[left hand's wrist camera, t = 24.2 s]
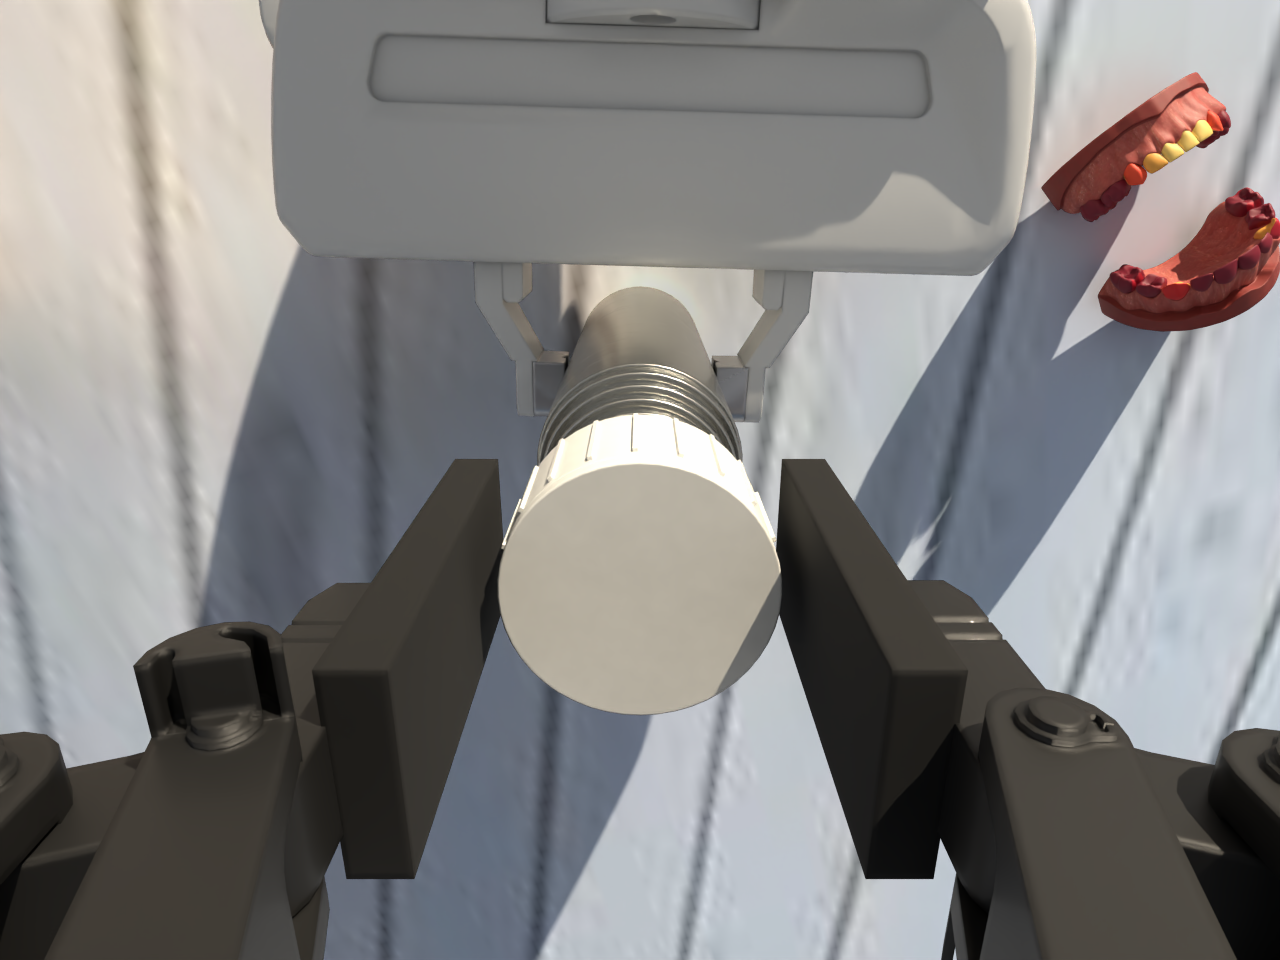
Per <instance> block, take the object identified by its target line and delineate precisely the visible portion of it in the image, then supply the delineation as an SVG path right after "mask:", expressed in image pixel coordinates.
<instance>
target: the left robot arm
mask: <svg viewBox="0 0 1280 960" xmlns="http://www.w3.org/2000/svg"><path fill="white" fill-rule="evenodd" d="M502 543H503V529H502V514H501V499H500V483H499V468H498V459H455V460H454V462H453V463H452V465H451V466H450V468H449V469H448V471H447V472H446V473H445V475H444V476H443V478H442V479H441V481H440V482H439V484H438V485H437V487H436V488H435V490H434V491H433V493H432V494H431V496H430V497H429V498H428V500H427V501H426V503H425V504H424V506H423V507H422V509H421V510H420V512H419V513H418V515H417V516H416V518H415V519H414V521H413V522H412V523H411V525H410V526H409V528H408V529H407V531H406V532H405V534H404V535H403V537H402V538H401V540H400V541H399V543H398V544H397V546H396V547H395V548H394V550H393V551H392V553H391V554H390V556H389V557H388V559H387V560H386V562H385V563H384V565H383V566H382V568H381V569H380V570H379V572H378V573H377V575H376V576H375V578H374V579H373V581H372V582H371V583H336V584H335V585H333V586H331V587H330V588H328V589H326V590H325V591H323V592H322V593H320V594H318V595H317V596H315V597H314V598H312V599H310V600H309V601H308V602H307V603H306V604H305V606H304V607H303V608H302V609H301V611H300V612H299V613H298V614H297V616H296V617H295V618H294V619H293V621H292V625H289V626H288V627H287V628H286V629H285V631H284V632H283V633H282V634H279V633H278V632H277V631H275V630H274V629H273V628H271V627H270V626H268V625H263V624H258V623H253V622H224V623H219V624H214V625H209V626H204V627H199V628H195V629H193V630H190V631H187V632H185V633H182V634H179V635H176V636H174V637H171V638H169V639H167V640H165V641H164V642H162V643H160V644H159V645H157V646H155V647H154V648H152V649H150V650H149V651H147V652H146V653H145V654H144V655H143V656H142V657H141V658H140V659H139V660H138V662H137V663H136V664H135V665H134V666H133V667H134V671H135V675H136V679H137V683H138V686H139V690H140V694H141V698H142V702H143V706H144V710H145V714H146V717H147V721H148V725H149V729H150V733H151V737H152V738H151V740H150V742H149V744H148V746H147V748H146V750H145V752H143V753H139V754H135V755H131V756H127V757H122V758H117V759H112V760H107V761H102V762H97V763H92V764H87V765H82V766H77V767H72V768H67V769H66V766H65V763H64V760H63V756H62V753H61V750H60V747H59V744H58V743H57V742H55V741H54V740H53V739H51V738H50V737H49V736H48V735H45V734H37V733H30V732H19V733H10V734H2V735H0V960H323V959H324V951H325V943H326V934H327V926H328V918H329V910H330V909H329V902H328V894H327V888H326V883H325V877H324V875H325V873H326V870H327V868H328V866H329V864H330V862H331V860H332V857H333V855H334V853H335V851H336V849H337V847H338V844H339V842H340V843H341V849H342V855H343V861H344V867H345V873H346V879H414V878H415V875H416V872H417V869H418V866H419V863H420V860H421V857H422V854H423V851H424V848H425V845H426V842H427V839H428V836H429V832H430V829H431V826H432V823H433V820H434V817H435V814H436V811H437V808H438V805H439V802H440V799H441V796H442V793H443V790H444V787H445V783H446V780H447V777H448V774H449V771H450V768H451V765H452V762H453V759H454V756H455V753H456V750H457V747H458V744H459V741H460V737H461V734H462V731H463V728H464V725H465V722H466V719H467V716H468V713H469V710H470V707H471V704H472V701H473V698H474V695H475V692H476V688H477V685H478V682H479V679H480V676H481V673H482V670H483V667H484V664H485V661H486V658H487V655H488V652H489V649H490V646H491V643H492V639H493V636H494V633H495V630H496V627H497V624H498V621H499V618H500V610H499V603H498V597H497V580H498V573H499V566H500V561H501V558H502V555H503V551H504V549H501V547H502ZM776 553H777V556H778V559H779V563H780V569H781V576H782V600H781V607H780V613H779V615H780V618H781V621H782V624H783V627H784V630H785V633H786V636H787V639H788V642H789V646H790V649H791V652H792V655H793V658H794V661H795V664H796V667H797V670H798V673H799V676H800V679H801V682H802V685H803V688H804V692H805V695H806V698H807V701H808V704H809V707H810V710H811V713H812V716H813V719H814V722H815V725H816V728H817V731H818V734H819V737H820V741H821V744H822V747H823V750H824V753H825V756H826V759H827V762H828V765H829V768H830V771H831V774H832V777H833V780H834V783H835V786H836V790H837V793H838V796H839V799H840V802H841V805H842V808H843V811H844V814H845V817H846V820H847V823H848V826H849V829H850V832H851V836H852V839H853V842H854V845H855V848H856V851H857V854H858V857H859V860H860V863H861V866H862V869H863V872H864V875H865V878H866V879H934V873H935V867H936V861H937V855H938V849H939V843H940V838H941V840H942V842H943V845H944V847H945V849H946V851H947V853H948V855H949V858H950V860H951V862H952V864H953V866H954V868H955V871H956V877H955V883H954V888H953V894H952V900H951V905H950V911H949V916H948V922H947V927H946V933H945V938H944V944H943V951H942V958H941V960H953V955H954V950H955V949H956V957H957V960H1280V731H1277V730H1268V729H1260V728H1254V729H1247V730H1239V731H1234V732H1233V733H1231V734H1230V735H1229V736H1227V737H1226V738H1225V739H1224V740H1222V744H1221V747H1220V750H1219V753H1218V756H1217V760H1216V763H1215V765H1211V764H1206V763H1201V762H1196V761H1191V760H1186V759H1181V758H1176V757H1171V756H1166V755H1161V754H1156V753H1151V752H1147V751H1144V750H1140V749H1136V748H1134V747H1133V745H1132V743H1131V741H1130V739H1129V737H1128V735H1127V734H1126V733H1125V732H1124V730H1123V729H1122V728H1121V727H1120V725H1119V724H1118V723H1117V722H1116V720H1114V719H1113V718H1111V717H1110V716H1109V715H1107V714H1106V713H1104V712H1103V711H1101V710H1100V709H1098V708H1097V707H1096V706H1094V705H1092V704H1089V703H1087V702H1085V701H1082V700H1080V699H1078V698H1075V697H1073V696H1071V695H1068V694H1064V693H1060V692H1056V691H1051V690H1047V689H1045V688H1044V686H1043V685H1042V684H1041V683H1040V681H1039V680H1038V679H1037V678H1036V677H1035V675H1034V674H1033V673H1032V672H1031V670H1030V669H1029V668H1028V667H1027V665H1026V664H1025V663H1024V662H1023V660H1022V659H1021V658H1020V657H1019V656H1018V654H1017V653H1016V652H1015V651H1014V649H1013V648H1012V647H1011V646H1010V644H1009V643H1008V642H1007V641H1006V640H1003V639H1002V634H1001V633H1000V632H999V631H998V630H997V628H996V627H995V626H994V625H993V623H992V622H989V621H988V617H987V616H986V615H985V613H984V612H983V611H982V610H981V609H980V607H979V606H978V605H977V604H976V602H975V601H974V600H973V599H972V598H971V597H970V596H968V595H966V594H965V593H963V592H961V591H960V590H958V589H957V588H955V587H953V586H952V585H950V584H948V583H947V582H945V581H944V580H907V579H906V578H905V576H904V575H903V573H902V572H901V570H900V569H899V568H898V566H897V565H896V563H895V562H894V560H893V559H892V557H891V556H890V554H889V553H888V551H887V550H886V548H885V547H884V545H883V544H882V543H881V541H880V540H879V538H878V537H877V535H876V534H875V532H874V531H873V529H872V528H871V526H870V525H869V523H868V522H867V520H866V519H865V518H864V516H863V515H862V513H861V512H860V510H859V509H858V507H857V506H856V504H855V503H854V501H853V500H852V498H851V497H850V496H849V494H848V493H847V491H846V490H845V488H844V487H843V485H842V484H841V482H840V481H839V479H838V478H837V476H836V475H835V473H834V472H833V471H832V469H831V468H830V466H829V465H828V463H827V462H826V460H825V459H782V468H781V483H780V499H779V514H778V529H777V545H776Z"/></svg>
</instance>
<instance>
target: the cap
mask: <svg viewBox="0 0 1280 960" xmlns="http://www.w3.org/2000/svg"><path fill="white" fill-rule="evenodd" d="M775 541H776V538H775V535H774V533H773V530H772V528H771V525H770V522H769V520H768V517H767V515H766V512H765V509H764V507H763V504H762V502H761V499H760V497H759V494H758V492H755V493H754V490H753V488H752V485H751V483H750V481H749V479H748V477H747V475H746V472H745V469H744V467H743V464H742V462H741V461H740V459H739V460H738V461H737V460H736V459H735V458H734V456H733V455H732V454H731V453H730V452H729V451H728V450H727V449H726V448H725V447H724V446H723V445H721V444H720V443H719V442H718V441H717V440H716V439H715V437H714V435H712V434H710V435H708V434H707V433H705V432H703V431H702V430H700V429H698V428H696V427H693V426H691V425H689V424H687V423H684V422H681V421H679V420H678V419H677V418H674V419H672V418H666V417H661V416H655V415H638V413H633V415H625V416H619V417H614V418H608V419H605V420H602V421H598V420H596V421H594V422H593V424H590V425H588V426H586V427H584V428H582V429H580V430H578V431H576V432H575V433H573V434H572V435H570V436H569V437H567V438H565V439H563V438H562V439H560V440H559V442H558V445H557V446H556V447H555V448H554V449H552V450H551V452H550V453H549V454H548V455H547V456H546V457H545V458H544V460H543V461H542V462H541V463H540V465H539V466H535V467H534V468H533V471H532V474H531V476H530V479H529V481H528V484H527V487H526V489H525V492H524V495H523V497H522V499H519V502H518V505H517V507H516V510H515V512H514V515H513V518H512V520H511V523H510V525H509V528H508V531H507V533H506V536H505V538H504V541H503V543H502V547H501V549H504V551H503V555H502V558H501V561H500V566H499V573H498V580H497V597H498V603H499V610H500V615H501V618H502V621H503V625H504V628H505V630H506V633H507V635H508V637H509V639H510V641H511V643H512V645H513V647H514V648H515V650H516V651H517V653H518V654H519V656H520V658H521V659H522V660H523V661H524V662H525V664H526V665H527V666H528V667H529V668H530V670H531V671H532V672H533V673H534V674H536V675H537V676H538V677H539V678H540V679H541V680H542V681H543V682H544V683H546V684H547V685H549V686H550V687H551V688H553V689H554V690H556V691H557V692H558V693H560V694H562V695H564V696H566V697H568V698H569V699H571V700H573V701H576V702H578V703H581V704H583V705H586V706H588V707H591V708H595V709H598V710H602V711H605V712H611V713H618V714H626V715H653V714H662V713H668V712H674V711H678V710H681V709H685V708H688V707H692V706H694V705H697V704H699V703H701V702H704V701H706V700H708V699H710V698H712V697H714V696H716V695H717V694H719V693H721V692H723V691H724V690H726V689H727V688H728V687H730V686H731V685H732V684H734V683H735V682H737V681H738V680H739V679H740V678H741V677H742V676H743V675H744V674H745V673H746V672H747V671H748V670H749V669H750V668H751V667H752V666H753V664H754V663H755V662H756V661H757V659H758V658H759V657H760V655H761V654H762V652H763V651H764V649H765V647H766V646H767V644H768V643H769V640H770V638H771V636H772V634H773V631H774V629H775V627H776V623H777V620H778V616H779V613H780V607H781V600H782V576H781V569H780V563H779V559H778V556H777V553H776V550H775V547H774V544H773V542H775Z"/></svg>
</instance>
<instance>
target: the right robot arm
mask: <svg viewBox="0 0 1280 960" xmlns="http://www.w3.org/2000/svg"><path fill="white" fill-rule="evenodd" d="M259 6H260V14H261V19H262V23H263V26H264V29H265V32H266V35H267V38H268V40H269V42H270V44H271V46H272V48H273V63H272V92H271V139H272V164H273V180H274V194H275V203H276V209H277V214H278V216H279V219H280V221H281V222H282V224H283V225H284V226H285V228H286V229H287V230H288V231H289V232H290V234H291V235H292V236H293V237H294V238H295V239H296V241H297V242H298V243H299V244H300V245H301V246H302V247H303V249H304V250H305V251H306V252H307V253H309V254H311V255H313V256H317V257H343V258H377V259H411V260H445V261H474V284H475V303H476V304H477V306H478V308H479V309H480V311H481V312H482V314H483V316H484V317H485V319H486V321H487V322H488V324H489V325H490V327H491V329H492V330H493V332H494V333H495V335H496V337H497V338H498V340H499V342H500V343H501V345H502V346H503V348H504V350H505V351H506V353H507V354H508V356H509V358H510V359H511V361H516V396H517V411H518V415H519V416H531V417H534V416H548V414H549V412H550V409H551V407H552V404H553V402H554V399H555V397H556V394H557V392H558V389H559V387H560V384H561V382H562V379H563V377H564V374H565V372H566V369H567V367H568V365H569V352H565V351H545V350H544V349H543V347H542V345H541V343H540V341H539V340H538V338H537V336H536V334H535V332H534V331H533V329H532V327H531V325H530V323H529V322H528V320H527V318H526V316H525V315H524V313H523V311H522V309H521V307H520V306H519V304H518V303H520V302H521V301H522V300H523V299H524V298H525V297H526V296H527V295H528V294H529V293H530V292H531V291H532V263H547V264H581V265H615V266H649V267H682V268H716V269H750V270H754V279H753V295H752V297H753V298H754V299H755V300H756V301H757V302H758V303H759V304H760V305H761V306H762V307H763V308H764V309H765V312H764V313H763V315H762V317H761V318H760V320H759V321H758V323H757V324H756V326H755V328H754V329H753V331H752V332H751V334H750V335H749V337H748V338H747V340H746V342H745V343H744V345H743V346H742V348H741V349H740V351H739V352H738V354H737V355H738V356H712V364H711V365H712V368H713V370H714V373H715V375H716V378H717V380H718V383H719V385H720V387H721V390H722V392H723V395H724V397H725V400H726V402H727V405H728V407H729V410H730V412H731V415H732V417H733V420H734V422H756V423H759V421H760V419H761V414H762V405H763V393H764V381H765V370H766V368H770V367H771V366H772V364H773V363H774V361H775V360H776V358H777V357H778V356H779V354H780V353H781V351H782V350H783V349H784V347H785V346H786V344H787V343H788V341H789V340H790V339H791V337H792V336H793V334H794V333H795V332H796V330H797V329H798V327H799V326H800V324H801V323H802V322H803V320H804V319H805V317H806V316H807V314H808V313H809V306H810V297H811V288H812V278H813V271H818V272H852V273H886V274H920V275H956V276H973V275H977V274H979V273H981V272H982V271H983V270H984V269H985V268H986V267H987V266H989V265H990V264H991V262H992V261H993V260H994V259H995V258H996V257H997V256H998V255H999V254H1000V253H1001V251H1002V250H1003V249H1004V248H1005V247H1006V246H1007V245H1008V244H1009V242H1010V241H1011V239H1012V237H1013V235H1014V233H1015V230H1016V226H1017V223H1018V218H1019V214H1020V209H1021V204H1022V198H1023V192H1024V186H1025V179H1026V172H1027V165H1028V158H1029V149H1030V141H1031V131H1032V119H1033V108H1034V93H1035V75H1036V37H1035V28H1034V22H1033V17H1032V13H1031V10H1030V6H1029V4H1028V1H1027V0H259Z"/></svg>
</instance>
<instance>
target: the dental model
mask: <svg viewBox="0 0 1280 960" xmlns="http://www.w3.org/2000/svg"><path fill="white" fill-rule="evenodd" d="M1208 91H1209V89H1208V87H1207V85H1206V83H1205V82H1204V81H1203V79H1202V78H1201V77H1200V75H1199V74H1198V73H1197V72H1195V73H1192V74H1190V75H1188V76H1186V77H1184V78H1182V79H1181V80H1179V81H1177V82H1176V83H1174V84H1172V85H1171V86H1169V87H1167V88H1166V89H1164V90H1163V91H1161V92H1159V93H1158V94H1156V95H1155V96H1153V97H1152V98H1150V99H1149V100H1147V101H1146V102H1145V103H1143V104H1142V105H1140V106H1139V107H1137V108H1136V109H1135V110H1133V111H1132V112H1131V113H1129V114H1128V115H1126V116H1125V117H1124V118H1122V119H1121V120H1120V121H1118V122H1117V123H1116V124H1114V125H1113V126H1112V127H1110V128H1109V129H1107V130H1106V131H1105V132H1103V133H1102V134H1101V135H1099V136H1098V137H1097V138H1096V139H1094V140H1093V141H1092V142H1091V143H1089V144H1088V145H1087V146H1086V147H1084V148H1083V149H1082V150H1081V151H1080V152H1078V153H1077V154H1076V155H1075V156H1074V157H1073V158H1071V159H1070V160H1069V161H1068V162H1067V163H1066V164H1064V165H1063V166H1062V167H1061V168H1060V169H1059V170H1058V171H1057V172H1056V173H1055V174H1054V175H1053V176H1052V177H1051V178H1050V179H1049V180H1048V181H1047V182H1046V183H1045V184H1044V185H1043V186H1042V190H1043V191H1044V193H1045V194H1046V196H1047V197H1048V198H1049V200H1050V201H1051V202H1052V204H1053V205H1054V206H1055V208H1056V209H1057V210H1060V209H1063V210H1064V211H1065V212H1067V213H1071V214H1076V213H1080V212H1081V215H1082V216H1083V218H1084V219H1085V220H1087V221H1089V222H1093V221H1094V220H1097V219H1098V218H1099V216H1101V215H1104V214H1106V213H1108V211H1109V210H1111V209H1113V208H1114V207H1115V206H1116V205H1117V202H1119V201H1121V200H1122V199H1123V198H1124V197H1125V196H1127V195H1128V194H1129V191H1130V189H1131V185H1140V184H1143V183H1144V182H1145V180H1146V177H1147V172H1149V173H1154V172H1156V171H1158V170H1160V169H1161V168H1163V167H1164V166H1165V165H1167V164H1168V162H1172V161H1173V160H1175V159H1177V158H1178V157H1180V156H1181V155H1183V154H1184V151H1185V152H1187V151H1189V150H1190V149H1192V148H1193V147H1195V146H1197V147H1199V148H1206V147H1207V146H1208V145H1209V144H1211V143H1213V142H1214V141H1215V140H1217V139H1218V138H1220V136H1223V135H1226V134H1227V133H1228V131H1229V128H1230V127H1231V121H1230V117H1229V115H1228V114H1227V113H1226V107H1225V106H1224V105H1223V104H1222V103H1220V102H1219V101H1217V100H1216V99H1215V98H1213V97H1212V96H1211V95H1210V94H1209V93H1208ZM1176 143H1177V144H1178V145H1179V146H1180V147H1181V148H1182V149H1183V150H1184V151H1183V150H1182V149H1181V148H1180V147H1179V146H1178V145H1177V144H1176ZM1161 154H1162V155H1161ZM1143 165H1144V168H1145V169H1146V170H1145V169H1144V168H1143V167H1141V166H1143ZM1146 171H1147V172H1146ZM1279 243H1280V222H1279V220H1278V219H1277V218H1275V211H1274V209H1273V208H1272V206H1271V204H1270V203H1268V204H1264V199H1263V197H1262V196H1261V195H1260V194H1259V193H1258V192H1254V191H1253V190H1251V189H1250V188H1244V189H1242V190H1240V191H1238V192H1237V194H1236V195H1235V196H1233V197H1228V198H1227V199H1226V200H1225V202H1223V203H1221V204H1219V205H1218V206H1217V207H1216V208H1215V209H1214V210H1213V211H1212V212H1211V213H1210V214H1209V215H1208V217H1207V219H1206V221H1205V223H1204V225H1203V226H1202V228H1201V230H1200V231H1199V232H1198V234H1197V235H1196V236H1195V237H1194V239H1193V240H1192V241H1191V242H1190V243H1189V244H1188V245H1187V246H1186V247H1185V248H1184V249H1183V250H1182V251H1180V252H1179V253H1178V254H1176V255H1175V256H1174V257H1172V258H1171V259H1169V260H1167V261H1166V262H1164V263H1162V264H1160V265H1158V266H1156V267H1154V268H1151V269H1147V270H1142V269H1140V268H1138V267H1133V266H1130V265H1122V266H1121V267H1120V269H1119V270H1116V271H1115V272H1112V273H1111V274H1110V277H1109V278H1108V280H1107V281H1106V283H1105V284H1104V286H1103V287H1102V289H1101V290H1100V292H1099V294H1098V299H1099V303H1100V307H1101V310H1102V313H1103V314H1104V315H1106V316H1108V317H1110V318H1112V319H1114V320H1116V321H1118V322H1120V323H1122V324H1125V325H1128V326H1132V327H1135V328H1139V329H1145V330H1153V331H1185V330H1193V329H1198V328H1203V327H1207V326H1211V325H1214V324H1217V323H1221V322H1224V321H1226V320H1229V319H1231V318H1233V317H1235V316H1238V315H1240V314H1242V313H1243V312H1245V311H1247V310H1249V309H1250V308H1251V307H1253V306H1254V305H1256V304H1257V303H1258V302H1259V301H1261V300H1262V299H1263V298H1264V297H1265V296H1266V295H1267V294H1268V292H1269V291H1270V290H1271V289H1272V287H1273V286H1274V285H1275V283H1276V280H1277V278H1278V275H1279V272H1280V253H1279V246H1278V245H1279Z"/></svg>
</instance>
